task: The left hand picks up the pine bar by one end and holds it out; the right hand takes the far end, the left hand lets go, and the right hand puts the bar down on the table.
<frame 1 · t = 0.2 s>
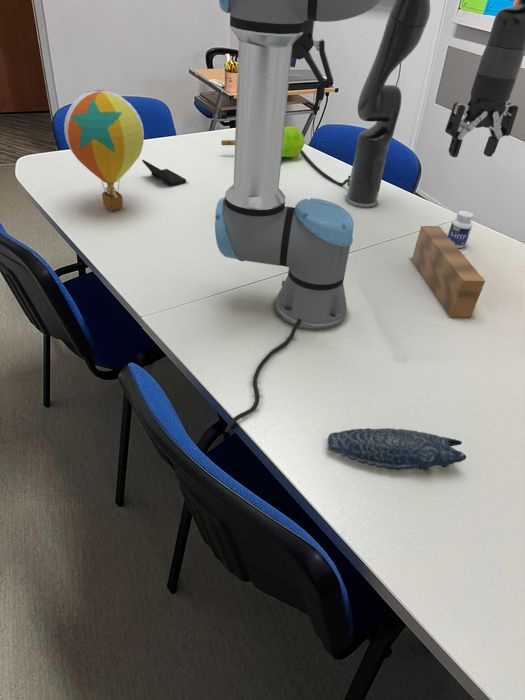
left hand: (289, 110, 135), 28 cm above the table, tool pointing down, fingers open, 13 cm apart
right hand: (470, 155, 112), 29 cm above the table, tool pointing down, fingers open, 8 cm apart
bar: (438, 286, 125), on the table
fish model: (391, 456, 82), on the table
toy: (113, 208, 145), on the table
pill bottle: (455, 244, 144), on the table
black angled flat piece: (164, 180, 164), on the table
decorative tree: (262, 157, 188), on the table
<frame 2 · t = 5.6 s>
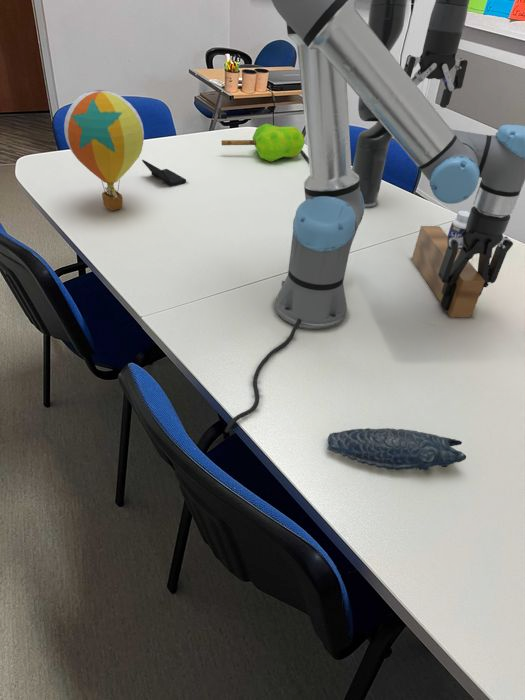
left hand: (455, 307, 117), 1 cm above the table, tool pointing down, fingers closed on bar, 5 cm apart
right hand: (425, 106, 125), 34 cm above the table, tool pointing down, fingers open, 8 cm apart
bar: (438, 286, 125), on the table, touching left hand
everything else where it was.
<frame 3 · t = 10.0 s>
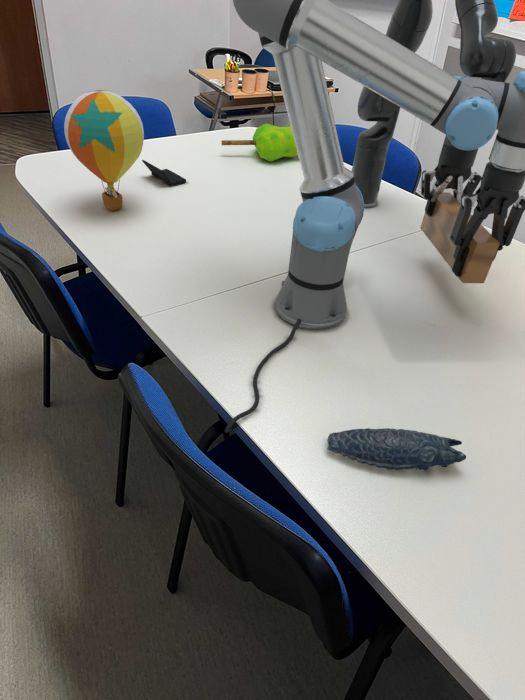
left hand: (468, 273, 112), 9 cm above the table, tool pointing down, fingers closed on bar, 5 cm apart
right hand: (439, 215, 124), 14 cm above the table, tool pointing down, fingers closed on bar, 5 cm apart
bar: (449, 253, 120), point 9 cm above the table, touching left hand, right hand
everything else where it was.
when the left hand's fingers open (9 cm above the table, at t = 10.7 s): bar stays where it is, held by the right hand.
when the right hand's fingers open (6 cm above the table, at t = 19.1 s): bar drops 1 cm, on the table.
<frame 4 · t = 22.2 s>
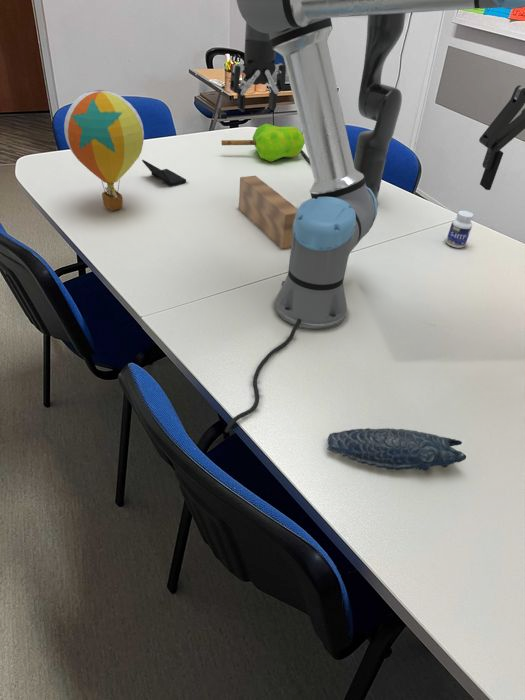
left hand: (519, 188, 94), 31 cm above the table, tool pointing down, fingers open, 13 cm apart
right hand: (256, 109, 133), 28 cm above the table, tool pointing down, fingers open, 8 cm apart
bar: (266, 226, 144), on the table
everything else where it was.
at the end: bar inside the target area (10.0 cm from its centre), on the table; the left hand is holding nothing; the right hand is holding nothing; bar at rest at the end (0.0 cm/s) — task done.
